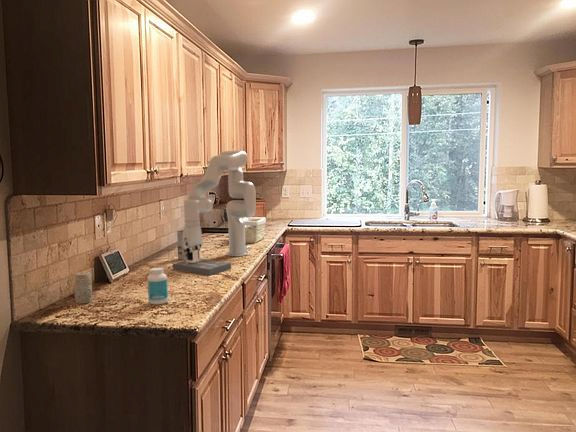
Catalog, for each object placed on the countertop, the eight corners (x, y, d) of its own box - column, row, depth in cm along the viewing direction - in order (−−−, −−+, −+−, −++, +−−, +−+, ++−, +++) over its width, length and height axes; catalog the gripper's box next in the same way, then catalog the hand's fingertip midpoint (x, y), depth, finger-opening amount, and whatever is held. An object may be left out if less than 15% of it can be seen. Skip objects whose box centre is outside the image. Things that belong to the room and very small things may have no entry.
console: (195, 263, 261) (195, 257, 261) (231, 268, 247) (231, 262, 247) (173, 269, 248) (172, 263, 247) (209, 275, 234) (209, 269, 234)
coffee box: (185, 260, 270) (183, 231, 268) (177, 259, 274) (176, 230, 272) (197, 257, 277) (196, 229, 275) (190, 256, 281) (189, 228, 279)
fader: (194, 259, 254) (193, 248, 253) (201, 260, 251) (200, 249, 251) (186, 262, 249) (185, 250, 248) (193, 263, 246) (192, 251, 246)
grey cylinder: (74, 305, 189) (71, 275, 188) (77, 300, 196) (75, 271, 195) (91, 304, 191) (89, 274, 189) (94, 298, 198) (92, 269, 196)
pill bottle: (172, 302, 192) (170, 268, 190) (155, 306, 186) (153, 272, 185) (161, 298, 197) (159, 265, 195) (144, 302, 191) (143, 269, 190)
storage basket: (245, 237, 345) (244, 216, 344) (267, 237, 342) (266, 216, 340) (234, 243, 322) (233, 221, 320) (257, 243, 319) (257, 221, 317)
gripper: (198, 221, 257) (199, 255, 259) (174, 225, 243) (176, 261, 245) (209, 222, 253) (210, 256, 255) (185, 226, 239) (187, 262, 241)
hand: (193, 258), depth 250 cm, fingers closed on fader, 4 cm apart
